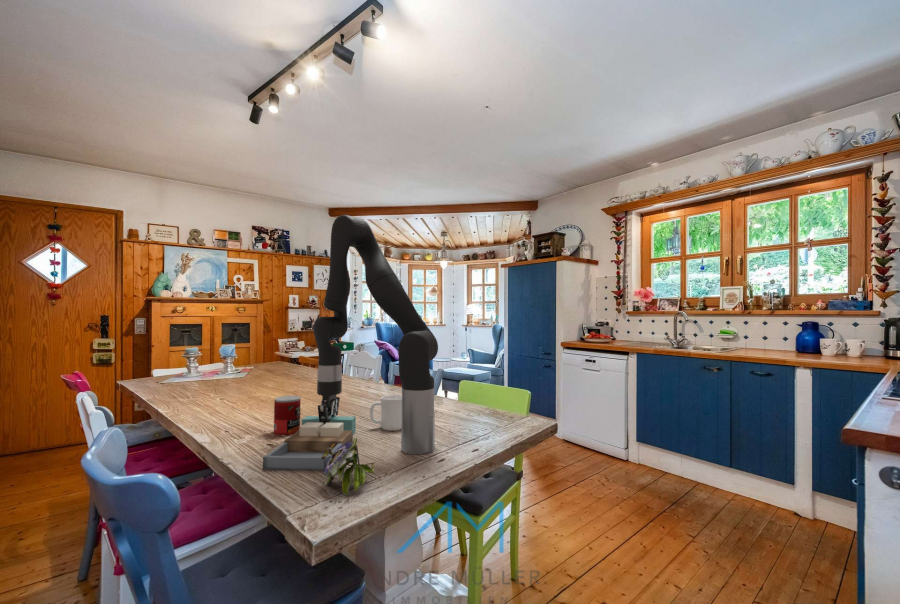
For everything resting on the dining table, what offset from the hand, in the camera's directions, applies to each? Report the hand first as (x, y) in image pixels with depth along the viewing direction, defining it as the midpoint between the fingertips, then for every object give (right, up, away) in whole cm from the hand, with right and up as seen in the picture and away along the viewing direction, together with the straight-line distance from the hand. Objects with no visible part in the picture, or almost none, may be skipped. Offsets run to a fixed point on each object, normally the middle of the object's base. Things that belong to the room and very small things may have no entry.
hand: (328, 432), depth 122 cm
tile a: (+5, +4, -12) cm, 13 cm away
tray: (+1, +1, -24) cm, 24 cm away
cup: (+18, -1, +7) cm, 19 cm away
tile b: (-1, +4, -11) cm, 12 cm away
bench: (+2, 0, -13) cm, 13 cm away
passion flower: (+16, +1, -37) cm, 40 cm away
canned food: (-14, -1, +1) cm, 14 cm away
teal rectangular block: (0, 0, 0) cm, 0 cm away
